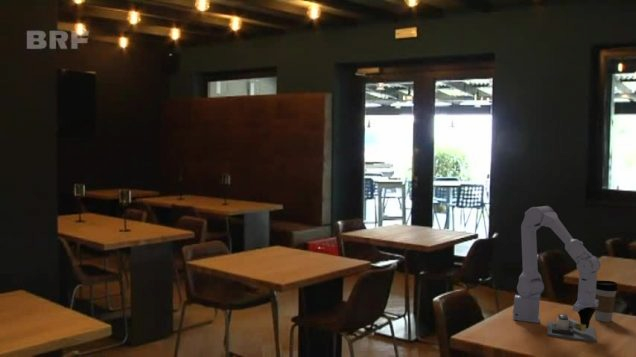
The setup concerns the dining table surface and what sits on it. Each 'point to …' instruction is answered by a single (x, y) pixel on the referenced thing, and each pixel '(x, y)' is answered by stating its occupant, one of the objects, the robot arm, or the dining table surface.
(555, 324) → the panel
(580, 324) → the clip
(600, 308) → the coffee cup
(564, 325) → the plug
